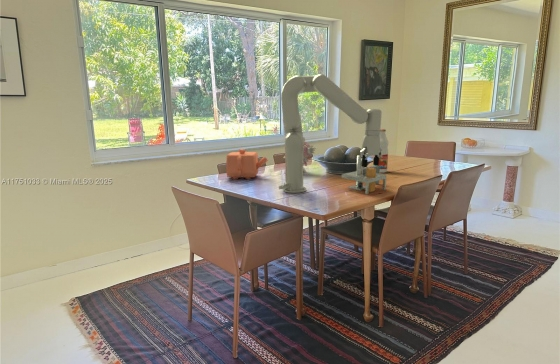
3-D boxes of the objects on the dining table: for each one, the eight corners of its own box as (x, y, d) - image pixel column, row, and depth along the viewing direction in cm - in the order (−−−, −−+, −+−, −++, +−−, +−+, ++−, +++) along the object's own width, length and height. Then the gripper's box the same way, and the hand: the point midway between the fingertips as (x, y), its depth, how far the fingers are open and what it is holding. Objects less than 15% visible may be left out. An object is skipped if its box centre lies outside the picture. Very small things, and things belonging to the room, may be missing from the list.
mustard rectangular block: (365, 190, 200) (366, 168, 198) (369, 189, 203) (370, 167, 200) (371, 191, 198) (372, 169, 195) (375, 190, 200) (376, 168, 197)
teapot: (270, 173, 247) (269, 147, 243) (265, 181, 225) (265, 152, 221) (233, 173, 249) (232, 147, 245) (225, 181, 227) (223, 152, 223)
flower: (271, 170, 251) (279, 139, 237) (293, 162, 265) (302, 132, 251) (291, 186, 241) (301, 155, 227) (313, 177, 255) (324, 147, 241)
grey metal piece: (367, 194, 192) (368, 159, 188) (341, 188, 205) (342, 156, 201) (385, 189, 202) (387, 156, 198) (360, 183, 215) (361, 153, 211)
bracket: (363, 187, 206) (364, 169, 204) (359, 187, 208) (360, 168, 206) (378, 183, 215) (379, 166, 212) (375, 183, 217) (376, 165, 214)
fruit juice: (387, 170, 252) (389, 128, 246) (386, 173, 243) (388, 130, 237) (373, 169, 255) (375, 128, 249) (371, 172, 247) (373, 129, 240)
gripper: (376, 132, 202) (374, 163, 205) (356, 133, 191) (353, 166, 195) (388, 133, 196) (386, 165, 200) (367, 134, 185) (365, 168, 189)
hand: (370, 165), depth 197 cm, fingers open, 9 cm apart
